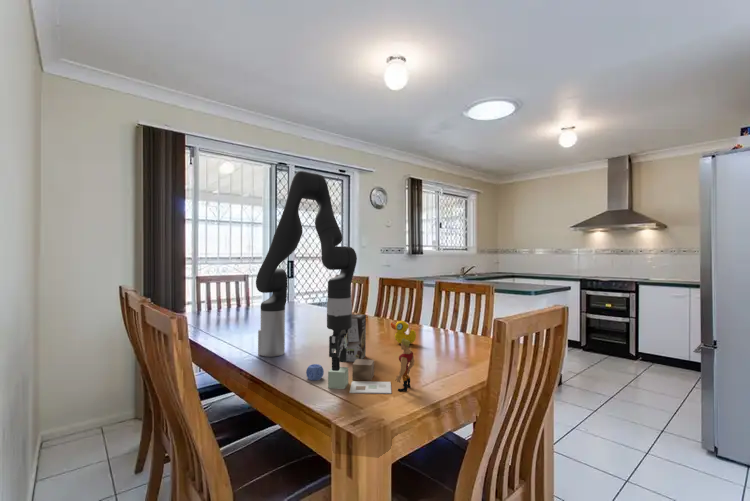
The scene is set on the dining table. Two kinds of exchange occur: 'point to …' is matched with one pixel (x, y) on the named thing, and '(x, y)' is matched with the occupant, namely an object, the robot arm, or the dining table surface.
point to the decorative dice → (314, 372)
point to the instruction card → (370, 387)
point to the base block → (363, 370)
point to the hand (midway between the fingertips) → (339, 366)
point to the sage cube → (338, 378)
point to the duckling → (402, 328)
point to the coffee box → (357, 338)
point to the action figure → (405, 364)
